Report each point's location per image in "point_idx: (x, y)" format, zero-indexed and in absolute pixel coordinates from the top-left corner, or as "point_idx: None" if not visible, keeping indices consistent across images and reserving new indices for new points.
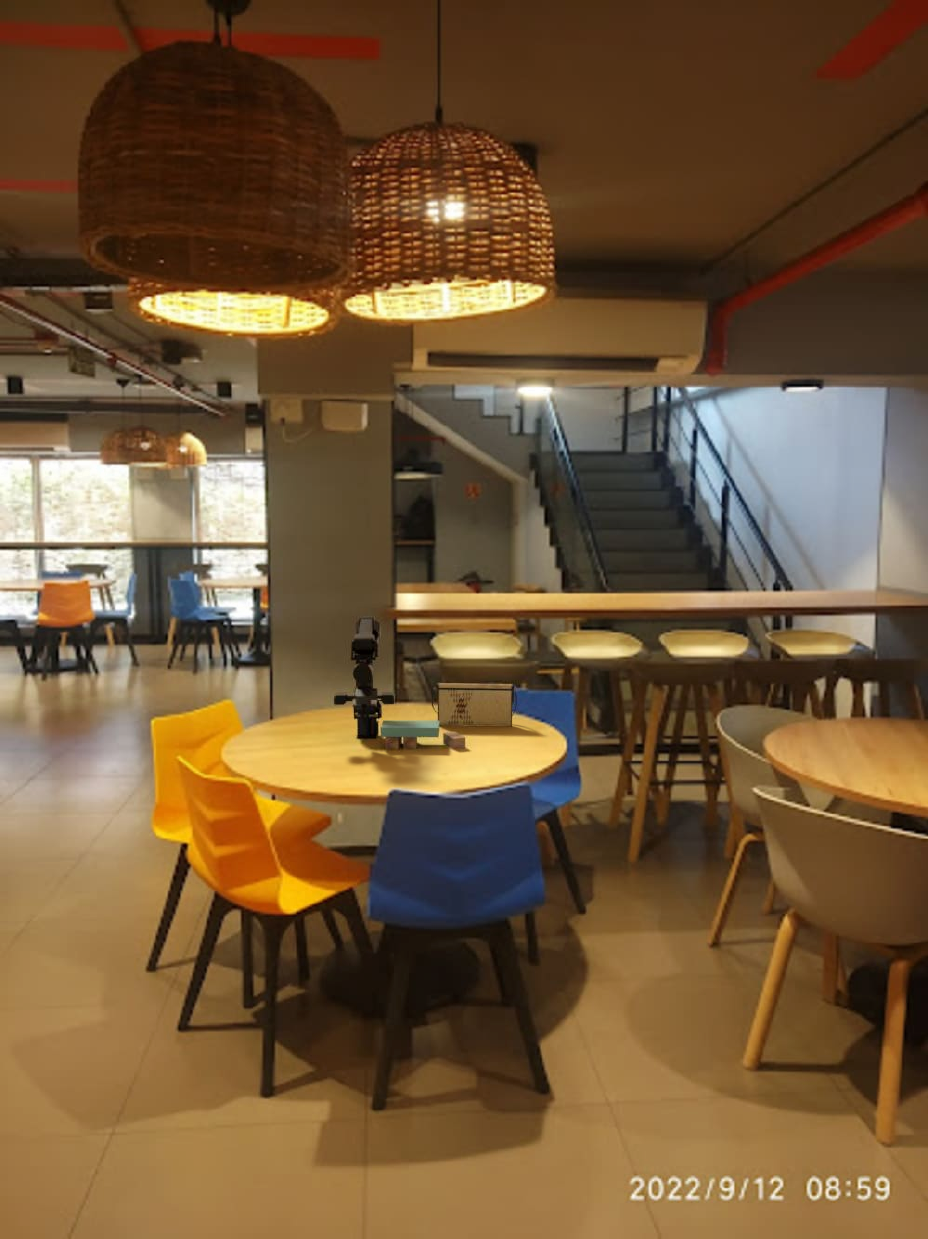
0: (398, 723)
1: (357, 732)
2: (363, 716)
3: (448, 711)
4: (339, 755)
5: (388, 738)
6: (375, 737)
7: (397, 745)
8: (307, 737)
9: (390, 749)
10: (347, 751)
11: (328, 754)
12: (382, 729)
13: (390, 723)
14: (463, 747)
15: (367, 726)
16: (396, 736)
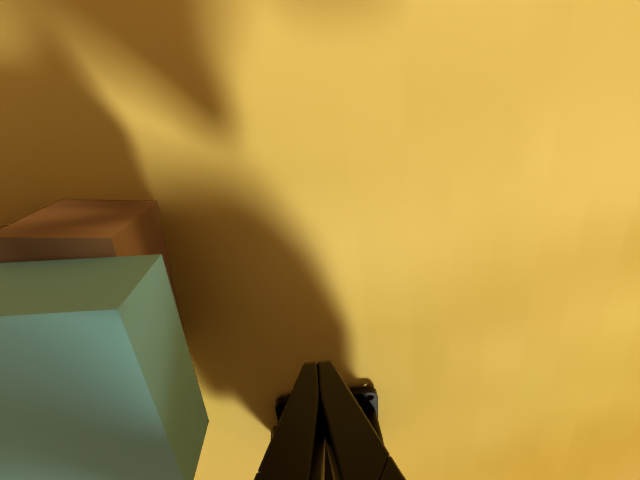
0: (4, 446)
1: (378, 424)
2: (340, 451)
3: None
4: (476, 16)
5: (85, 236)
6: (280, 399)
7: (41, 210)
8: (608, 377)
9: (118, 201)
10: (415, 140)
11: (557, 45)
12: (106, 295)
13: (84, 439)
14: None
15: (327, 458)
16: (8, 264)
